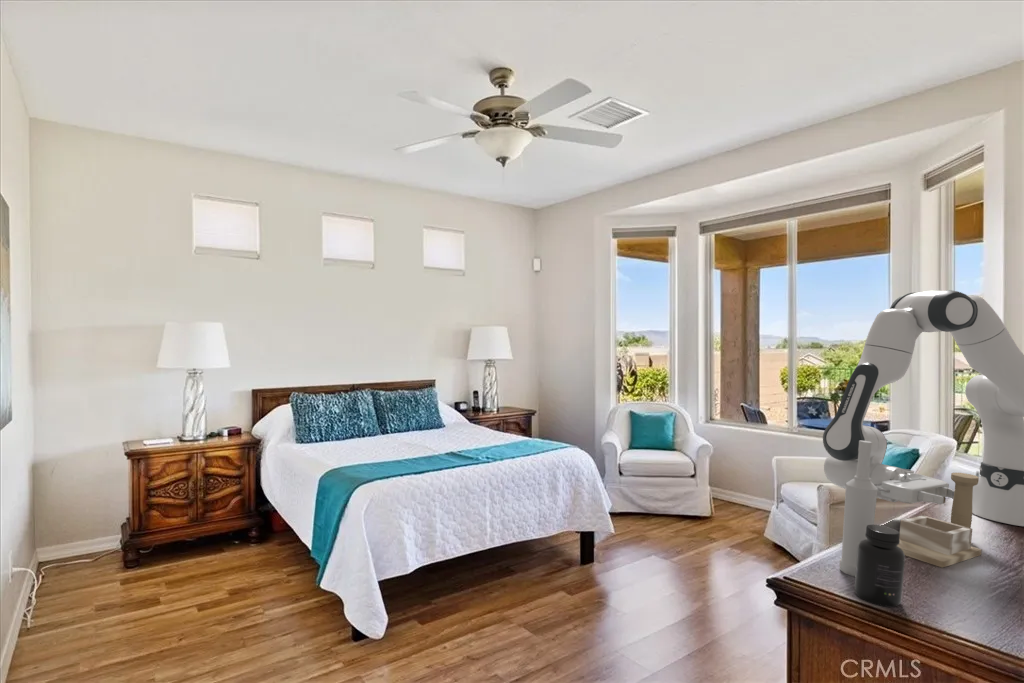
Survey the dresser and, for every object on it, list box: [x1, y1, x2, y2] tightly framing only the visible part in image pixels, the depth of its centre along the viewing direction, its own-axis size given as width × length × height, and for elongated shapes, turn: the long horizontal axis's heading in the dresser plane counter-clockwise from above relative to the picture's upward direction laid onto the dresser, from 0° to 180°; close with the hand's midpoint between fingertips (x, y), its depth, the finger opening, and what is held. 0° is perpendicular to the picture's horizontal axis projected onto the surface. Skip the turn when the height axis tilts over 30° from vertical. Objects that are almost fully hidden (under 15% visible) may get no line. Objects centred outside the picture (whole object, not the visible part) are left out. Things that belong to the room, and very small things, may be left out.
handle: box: [950, 472, 980, 528], centre depth 134 cm, size 5×6×15 cm
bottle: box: [838, 440, 878, 577], centre depth 109 cm, size 5×5×25 cm
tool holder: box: [897, 515, 983, 569], centre depth 124 cm, size 18×12×6 cm, turn 121°
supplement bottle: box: [854, 524, 906, 608], centre depth 98 cm, size 7×7×12 cm
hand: (953, 498), depth 136 cm, fingers open, 8 cm apart
